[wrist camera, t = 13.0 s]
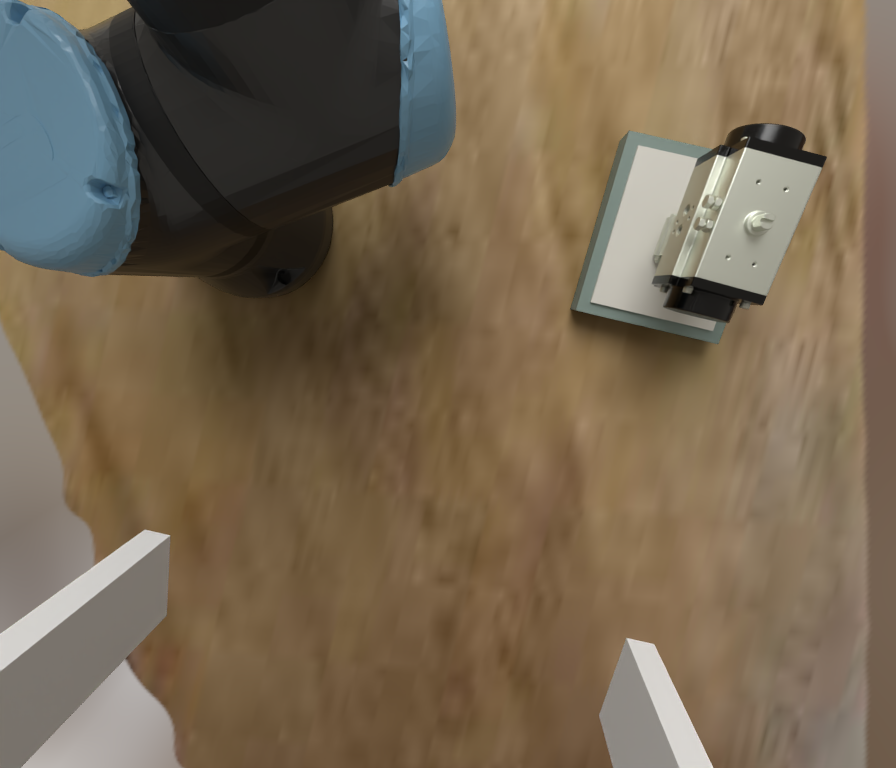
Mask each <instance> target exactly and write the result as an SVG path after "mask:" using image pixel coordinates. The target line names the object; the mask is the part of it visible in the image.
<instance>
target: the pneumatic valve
mask: <svg viewBox="0 0 896 768" xmlns="http://www.w3.org/2000/svg"><path fill="white" fill-rule="evenodd" d="M805 141H806V138H805V136H804V134H803V133H802V132H800V131H799V130H797V129H794V128H792V127H788V126H784V125H779V124H767V123H761V124H750V125H745V126H741V127H738V128H736V129H734V130H732V131H731V132H730V133H729V134H728V135H727V138H726V141H725V143H724V145H719V146H718V147H716V148H714V149H713V150H711V151H709V152H708V153H706V154H704V155H703V156H701V157H700V158H698V159H697V162H696V164H695V167H694V170H693V172H692V175H691V178H690V181H689V183H688V186H687V189H686V191H685V194H684V197H683V200H682V202H681V205H680V208H679V210H678V213H677V215H676V214H671V215H670V217H667V219H666V222H665V224H664V227H663V230H662V233H661V235H660V238H659V241H658V244H657V246H656V249H655V252H654V255H653V256H655V259H654V261H655V263H659V265H658V267H657V270H656V273H655V275H654V278H653V281H652V284H653V285H654V287H658V288H660V290H659V291H660V292H663V293H667V292H668V293H667V296H666V299H665V301H664V304H663V307H664V308H666V309H668V310H672V311H675V312H678V313H682V314H686V315H690V316H693V317H698V318H702V319H706V320H711V321H716V322H721V323H729V322H730V320H731V318H732V316H733V313H734V311H735V308H736V306H737V304H740V306H739V307H740V308H743V309H749V307H750V305H763V303H764V301H765V299H766V296H767V294H768V292H769V290H770V287H771V285H772V283H773V280H774V278H775V276H776V273H777V271H778V269H779V266H780V264H781V262H782V260H783V257H784V255H785V253H786V250H787V248H788V246H789V243H790V241H791V239H792V236H793V234H794V232H795V230H796V227H797V225H798V223H799V220H800V218H801V216H802V213H803V211H804V209H805V206H806V204H807V202H808V200H809V197H810V195H811V193H812V190H813V188H814V186H815V183H816V181H817V179H818V177H819V174H820V172H821V170H822V167H823V165H824V163H825V160H826V158H827V157H826V156H822V155H818V154H814V153H811V152H807V151H803V150H802V149H803V146H804V144H805ZM668 290H669V291H668Z"/></svg>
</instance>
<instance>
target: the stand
mask: <svg viewBox="0 0 896 768" xmlns="http://www.w3.org/2000/svg"><path fill="white" fill-rule="evenodd" d="M711 150H713V149H709V148H704V147H700V146H695V145H691V144H686V143H682V142H678V141H673V140H669V139H664V138H660V137H655V136H651V135H647V134H642V133H638V132H633V131H629V132H628V133H627V134H626V135H625V136H624V137H623V138H622V139H621V140H620V142H619V146H618V149H617V153H616V156H615V159H614V163H613V166H612V170H611V173H610V176H609V180H608V183H607V187H606V190H605V193H604V197H603V200H602V204H601V207H600V210H599V214H598V217H597V220H596V224H595V227H594V231H593V234H592V237H591V241H590V244H589V248H588V251H587V254H586V258H585V261H584V265H583V268H582V271H581V275H580V278H579V282H578V285H577V288H576V292H575V295H574V299H573V302H572V305H571V309H572V310H576V311H581V312H585V313H589V314H593V315H597V316H602V317H606V318H610V319H614V320H618V321H623V322H627V323H631V324H635V325H639V326H644V327H648V328H652V329H656V330H661V331H665V332H669V333H673V334H677V335H682V336H686V337H690V338H694V339H698V340H703V341H707V342H711V343H715V344H718V343H719V341H720V338H721V336H722V333H723V330H724V328H725V325H726V323H721V322H716V321H711V320H706V319H702V318H698V317H693V316H690V315H686V314H682V313H678V312H675V311H672V310H668V309H666V308H664V307H663V304H664V301H665V299H666V296H667V293H668V292H667V293H663V292H660V291H659V290H660V288H658V287H654V285H653V284H652V281H653V278H654V275H655V273H656V270H657V267H658V265H659V263H655V261H654V259H655V256H653V255H654V252H655V249H656V246H657V244H658V241H659V238H660V235H661V233H662V230H663V227H664V224H665V222H666V219H667V217H670V215H671V214H676V215H677V213H678V210H679V208H680V205H681V202H682V200H683V197H684V194H685V191H686V189H687V186H688V183H689V181H690V178H691V175H692V172H693V170H694V167H695V164H696V162H697V159H698V158H700V157H701V156H703V155H704V154H706V153H708V152H709V151H711ZM668 291H669V290H668Z"/></svg>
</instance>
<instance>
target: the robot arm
mask: <svg viewBox="0 0 896 768" xmlns="http://www.w3.org/2000/svg"><path fill="white" fill-rule="evenodd" d="M127 1H128V2H129V3H130V4H131V6H132V7H131V8H129V9H127V10H125V11H123V12H121V13H119V14H117V15H115V16H113V17H111V18H109V19H107V20H105V21H103V22H101V23H99V24H97V25H95V26H93V27H90V28H88V29H83V30H78V29H77V28H75V27H74V26H73V25H71V24H70V23H68V22H67V21H66V20H64V19H63V18H62V17H61V16H60V15H58V14H56V13H54V12H53V11H51V10H49V9H46V8H42V7H36V6H33V5H27V4H25V3H23V2H21V1H18V0H0V250H3V251H6V252H7V253H8V254H9V255H11V256H13V257H14V258H15V259H17V260H19V261H21V262H23V263H26V264H29V265H32V266H35V267H39V268H44V269H50V270H57V271H65V272H72V273H75V274H80V275H84V276H90V277H95V276H99V275H138V276H173V277H198V278H199V279H201V280H203V281H205V282H206V283H208V284H210V285H212V286H213V287H215V288H217V289H219V290H221V291H223V292H226V293H229V294H232V295H236V296H240V297H247V298H267V297H276V296H280V295H284V294H287V293H289V292H291V291H294V290H295V289H297V288H299V287H300V286H302V285H303V284H305V283H306V282H307V281H308V280H309V279H310V278H311V277H312V276H313V275H314V274H315V273H316V271H317V270H318V269H319V267H320V266H321V264H322V262H323V260H324V259H325V256H326V254H327V251H328V249H329V245H330V242H331V236H332V227H333V216H332V207H333V206H335V205H338V204H341V203H343V202H346V201H348V200H351V199H353V198H356V197H359V196H361V195H364V194H366V193H369V192H371V191H374V190H376V189H379V188H382V187H384V186H387V185H388V186H389V187H394V186H396V185H397V184H399V183H400V182H401V181H402V179H403V178H406V177H408V176H410V175H412V174H415V173H417V172H419V171H421V170H423V169H426V168H428V167H430V166H432V165H434V164H436V163H438V162H439V161H441V160H442V159H443V158H444V157H445V156H446V154H447V152H448V150H449V149H450V147H451V145H452V142H453V139H454V136H455V130H456V102H455V89H454V79H453V70H452V62H451V54H450V47H449V40H448V33H447V26H446V20H445V15H444V9H443V4H442V0H127ZM169 554H170V535H166V534H162V533H157V532H153V531H148V530H144V531H142V532H141V533H139V534H138V535H137V536H135V537H134V538H132V539H131V540H130V541H128V542H127V543H126V544H124V545H123V546H121V547H120V548H119V549H117V550H116V551H114V552H113V553H112V554H110V555H109V556H108V557H106V558H105V559H103V560H102V561H101V562H99V563H98V564H96V565H95V566H94V567H92V568H91V569H90V570H88V571H87V572H85V573H84V574H83V575H81V576H80V577H78V578H77V579H76V580H74V581H73V582H72V583H70V584H69V585H68V586H66V587H65V588H63V589H62V590H60V591H59V592H58V593H56V594H55V595H53V596H52V597H51V598H49V599H48V600H47V601H45V602H44V603H43V604H41V605H40V606H39V607H37V608H36V609H34V610H33V611H31V612H30V613H29V614H27V615H26V616H24V617H23V618H22V619H20V620H19V621H17V622H16V623H15V624H13V625H12V626H11V627H9V628H8V629H7V630H5V631H4V632H2V633H1V634H0V768H21V767H22V766H23V765H24V764H25V763H26V761H27V760H28V759H29V758H30V757H31V756H32V755H33V754H34V753H35V752H36V751H37V750H38V749H39V748H40V747H41V746H42V745H43V744H44V743H45V742H46V740H48V738H50V736H51V735H52V734H53V733H54V732H55V731H56V730H57V729H58V728H59V727H60V726H61V725H62V724H63V723H64V722H65V721H66V720H67V719H68V718H69V717H70V716H71V714H73V713H74V711H75V710H76V709H77V708H78V707H79V706H80V705H81V704H82V703H83V702H84V701H85V700H86V699H87V698H88V697H89V696H90V695H91V694H92V692H94V691H95V690H96V688H97V687H98V686H99V685H100V684H101V683H102V682H103V681H104V680H105V679H106V678H107V677H108V676H109V675H110V674H111V673H112V672H113V671H114V670H115V669H116V667H118V666H119V665H120V664H121V662H122V661H123V660H124V659H125V658H126V657H127V656H128V655H129V654H130V653H131V652H132V651H133V650H134V649H135V648H136V647H137V646H138V645H139V644H140V643H141V642H142V641H143V640H144V639H145V637H146V636H147V635H148V634H149V633H150V632H151V631H152V630H153V629H154V628H155V627H156V626H157V625H158V624H159V623H160V622H161V621H162V620H163V619H164V618H165V617H166V616H167V596H168V575H169ZM599 717H600V721H601V724H602V728H603V732H604V735H605V739H606V743H607V746H608V750H609V754H610V757H611V761H612V765H613V768H713V766H712V764H711V762H710V760H709V758H708V756H707V754H706V752H705V750H704V748H703V745H702V743H701V741H700V739H699V737H698V735H697V733H696V731H695V729H694V727H693V725H692V723H691V720H690V718H689V716H688V714H687V712H686V710H685V708H684V706H683V704H682V702H681V700H680V697H679V695H678V693H677V691H676V689H675V687H674V685H673V683H672V681H671V679H670V677H669V674H668V672H667V670H666V668H665V666H664V664H663V662H662V660H661V658H660V656H659V654H658V651H657V649H656V647H655V645H654V644H651V643H646V642H642V641H638V640H633V639H629V638H626V641H625V643H624V646H623V649H622V652H621V655H620V658H619V660H618V663H617V666H616V669H615V672H614V675H613V678H612V680H611V683H610V686H609V689H608V692H607V695H606V697H605V700H604V703H603V706H602V709H601V712H600V714H599Z"/></svg>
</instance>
